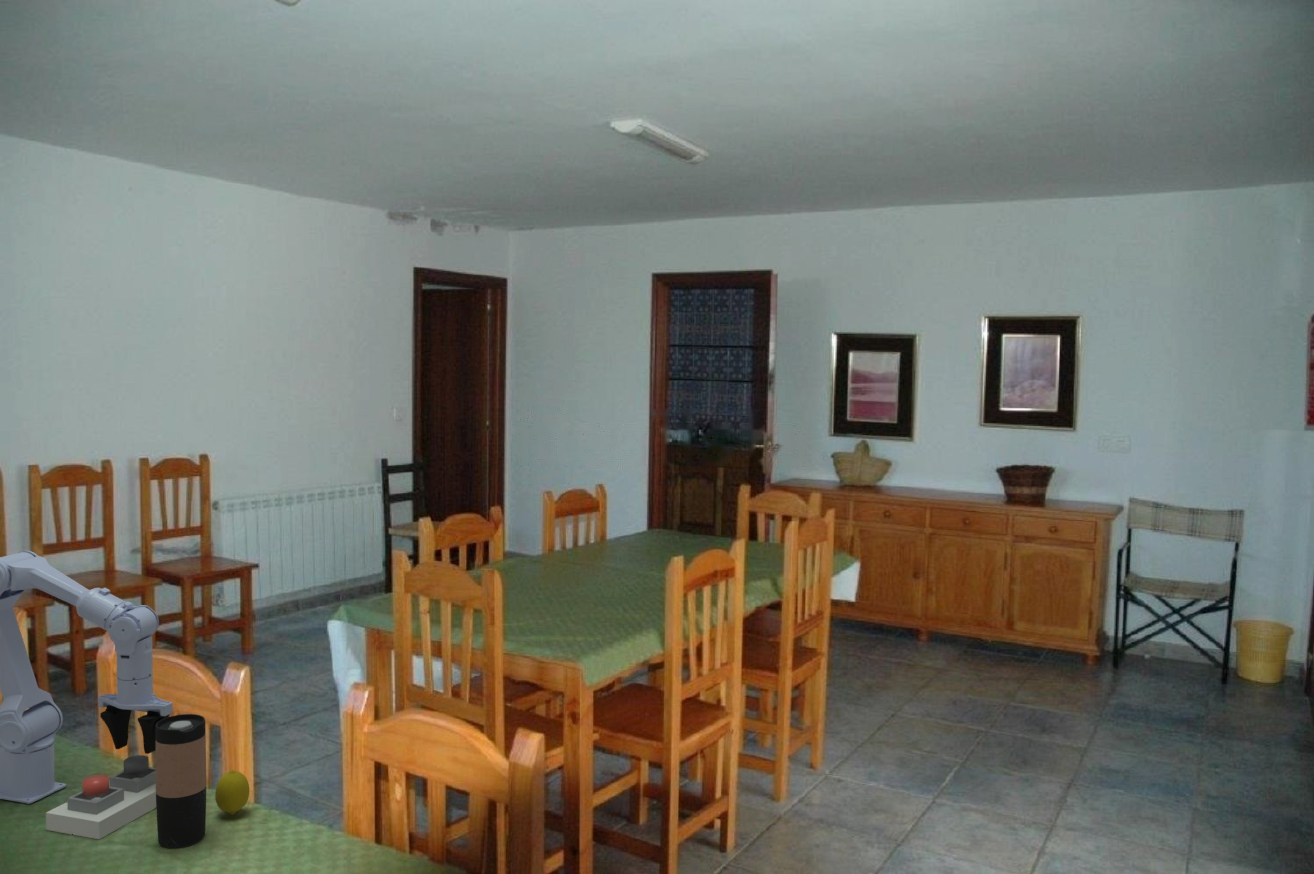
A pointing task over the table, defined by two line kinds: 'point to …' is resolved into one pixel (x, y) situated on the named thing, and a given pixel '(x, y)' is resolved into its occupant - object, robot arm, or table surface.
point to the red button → (95, 785)
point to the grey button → (136, 765)
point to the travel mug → (181, 780)
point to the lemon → (232, 792)
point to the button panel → (106, 806)
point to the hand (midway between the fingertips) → (135, 749)
